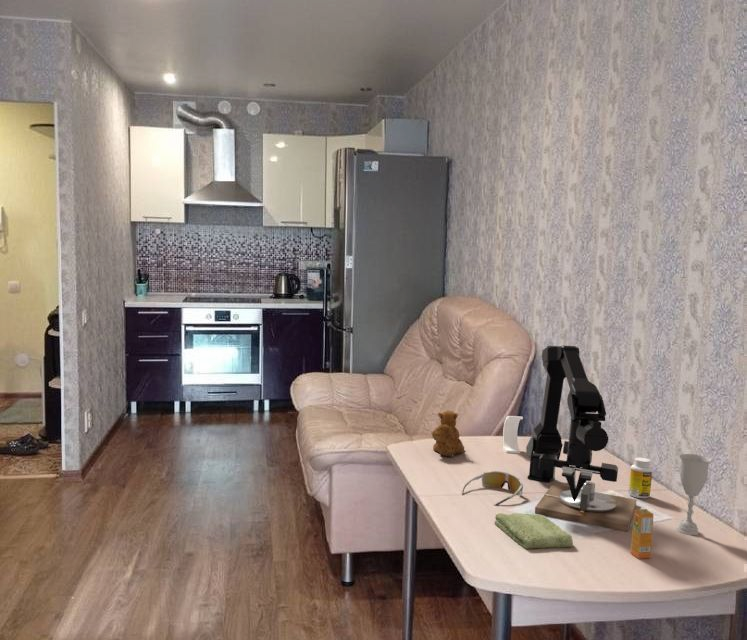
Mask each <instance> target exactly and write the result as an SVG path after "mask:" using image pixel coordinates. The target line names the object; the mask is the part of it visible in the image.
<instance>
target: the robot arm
mask: <svg viewBox="0 0 747 640" xmlns="http://www.w3.org/2000/svg"><path fill="white" fill-rule="evenodd" d="M541 360H542V366H543V369H544V370H545V373H546V379H545V380H546V381H545V386H544V387H545V388H544V395H543V400H542V401H543V403H542V408H541V415H540V422H539V423H538V424H537V425H536V427H534V429H533V431H532V436H531V437H530V438H529V441H528V443H527V445H526V446H525V449H526V456H528V457H529V459H530V461H529V470H528V471H529V472H528V475H527V476H526V477H527V479H530V480H535V481H541V482H545V483H546V482H547V483H551V482H552V480H553V479H554V478H555V477H556V468H560V469H562V473H561V476H562V477H563V478H565V480H566V482H567V484H568V487H570V491H571V495H572V499H573V501H576V498H577V496H578V494H579V492H580V490H582V489H583V485H584V484H585V482H591V481H592V478H593V474H596V475H599V477H600V478H601V480H603V481H607V482H612V483H613V482H614V483H615V482H618V481H617V480H618V473H619V467H618V466H617V465H616V464H614V463H613V464H612V463H607V462H601V465H600V466H598V465H594V464H592V461H593V460H592V459H593V458H592V457H593V452H600V451H603V449H605V448H606V446H607V445H608V443H609V436H608V433H607V431H606V430H605V429H604V428H603V427H602V422H606V416H607V412H606V411H607V410H606V407H605V403H604V400H603V396H602V394H601V393H600V391H599V389H598V387H597V386H596V385H595V384H594V383H593V382H591V381H589V378H588V376H587V374H586V370H585V367H584V366H583V365H584V364H583V362H582V360H581V357H580V348H579V347H578V346H576V345H564V344H563V345H547V346H546V347H544V349H542V352H541ZM565 379H566V381H567V384H568V386H569V392H568V394H567V401H566V402H567V406H568V410H569V414H570V417H571V418H570V425H569V436H568V441H567V440H564V443H563V442H562V440H563V439H562V436H561V433H560V432H559V430H558V421H559V416H560V407H561V401H562V394H563V387H564V380H565ZM562 448H563V450H562ZM561 453H563V455H566V460H562V459H560V458H561ZM576 471H577V472H579V475H578V479H577V481H576V476H577V475H576Z"/></svg>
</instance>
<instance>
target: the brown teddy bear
mask: <svg viewBox="0 0 747 640" xmlns="http://www.w3.org/2000/svg"><path fill="white" fill-rule="evenodd" d="M437 416H438V417H439V419H438V421H439V422H440V424H439V425H438V427H436V428H435V429H434V430H433V431H432V432H431V438H432V439H433V440H434V441H435V443H433V445H432V446H433V447H432V448H433V449H432V450H433V451H434V452H435V453H436V452H437V453H439V454H440V455H441V456H443V457H454V455H459V454H462V453H463V452H464V451H465V446H464V444H463V442H462V440H461V439H460V433H459V429H457V427H456V426H457V419H458V417H459V413H457V412H454V411H452V410H445V411H443V412H437Z"/></svg>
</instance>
